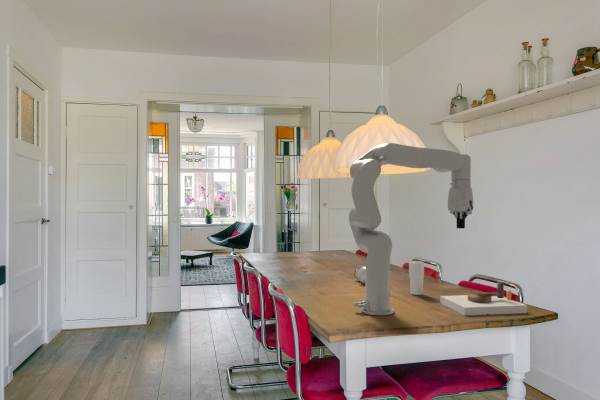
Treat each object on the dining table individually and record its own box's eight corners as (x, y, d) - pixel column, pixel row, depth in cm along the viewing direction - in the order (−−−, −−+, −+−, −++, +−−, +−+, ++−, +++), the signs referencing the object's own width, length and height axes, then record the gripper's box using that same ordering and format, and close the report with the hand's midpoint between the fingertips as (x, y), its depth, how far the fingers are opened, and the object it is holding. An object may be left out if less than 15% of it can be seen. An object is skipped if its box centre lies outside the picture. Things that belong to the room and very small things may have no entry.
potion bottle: (369, 288, 226) (357, 286, 240) (382, 276, 229) (370, 275, 243) (358, 274, 225) (347, 272, 240) (372, 262, 228) (360, 261, 243)
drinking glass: (412, 292, 212) (412, 260, 212) (426, 294, 207) (426, 261, 207) (406, 294, 206) (406, 262, 206) (420, 296, 202) (420, 263, 202)
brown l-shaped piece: (474, 302, 176) (474, 285, 176) (463, 297, 185) (463, 281, 185) (509, 301, 178) (509, 284, 178) (497, 296, 187) (497, 280, 187)
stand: (464, 315, 170) (464, 298, 170) (440, 303, 190) (440, 287, 190) (526, 312, 174) (526, 296, 174) (496, 301, 193) (497, 286, 193)
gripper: (440, 184, 191) (440, 227, 191) (469, 183, 178) (468, 229, 178) (453, 184, 195) (453, 226, 195) (481, 183, 182) (481, 229, 182)
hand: (460, 228), depth 186 cm, fingers closed
